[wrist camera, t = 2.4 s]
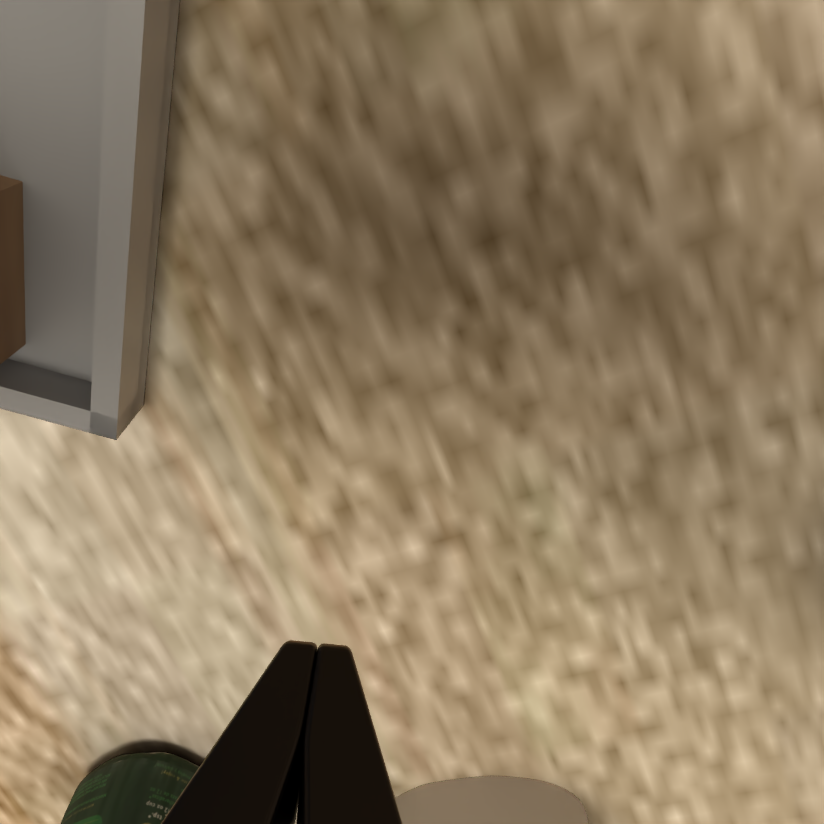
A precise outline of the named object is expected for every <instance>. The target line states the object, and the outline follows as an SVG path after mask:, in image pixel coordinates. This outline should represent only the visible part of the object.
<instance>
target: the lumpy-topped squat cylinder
mask: <svg viewBox="0 0 824 824" xmlns="http://www.w3.org/2000/svg"><path fill="white" fill-rule="evenodd" d="M395 800H396V803H397V807H398V810H399V814H400V817H401V820H402V824H588V817H587V813H586V810H585V808H584V806H583V804H582V803H581V801H580V800H579V799H578V798H577V797H576V796H575V795H573V794H572V793H570V792H569V791H567V790H565V789H563V788H561V787H559V786H557V785H554V784H551V783H548V782H544V781H539V780H534V779H528V778H519V777H508V776H479V777H469V778H460V779H452V780H445V781H439V782H433V783H428V784H424V785H421V786H418V787H416V788H414V789H412V790H409V791H407V792H405V793H403V794H401V795H400V796H398V797H396V798H395Z"/></svg>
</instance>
